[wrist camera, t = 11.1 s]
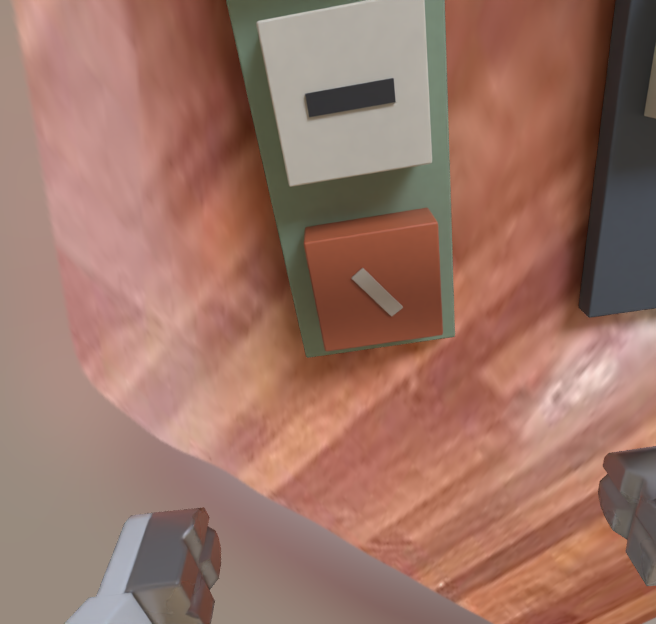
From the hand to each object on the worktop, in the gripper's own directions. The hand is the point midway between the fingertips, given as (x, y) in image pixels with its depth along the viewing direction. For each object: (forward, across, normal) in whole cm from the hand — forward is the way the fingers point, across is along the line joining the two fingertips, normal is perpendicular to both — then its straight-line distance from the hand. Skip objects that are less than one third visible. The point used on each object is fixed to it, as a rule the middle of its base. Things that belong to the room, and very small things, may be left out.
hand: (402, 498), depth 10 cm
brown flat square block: (+12, -1, +1) cm, 12 cm away
